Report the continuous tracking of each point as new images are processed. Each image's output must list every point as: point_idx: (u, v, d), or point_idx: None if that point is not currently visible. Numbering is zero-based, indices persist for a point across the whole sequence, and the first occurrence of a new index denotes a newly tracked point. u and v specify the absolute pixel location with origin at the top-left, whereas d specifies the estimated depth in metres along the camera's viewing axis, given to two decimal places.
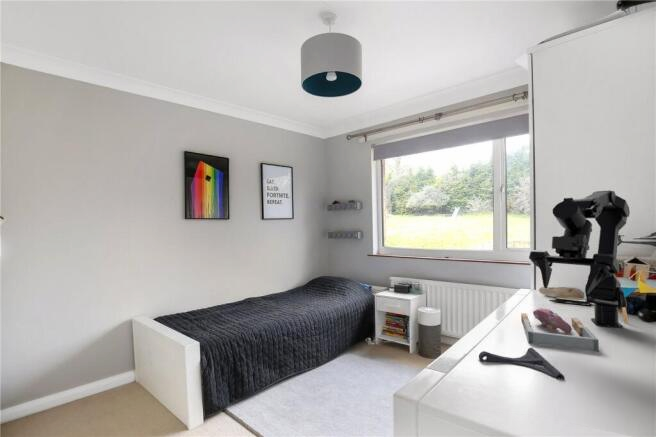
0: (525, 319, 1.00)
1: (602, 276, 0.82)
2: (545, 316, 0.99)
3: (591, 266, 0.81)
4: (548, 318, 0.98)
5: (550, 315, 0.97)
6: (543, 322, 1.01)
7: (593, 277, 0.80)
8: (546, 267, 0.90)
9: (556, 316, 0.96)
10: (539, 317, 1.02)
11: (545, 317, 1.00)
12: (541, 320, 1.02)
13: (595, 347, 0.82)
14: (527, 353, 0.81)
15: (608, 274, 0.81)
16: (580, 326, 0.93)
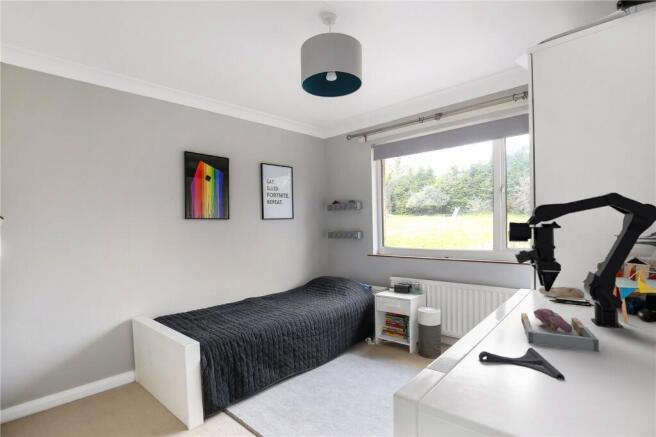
0: (525, 319, 1.00)
1: (555, 274, 1.02)
2: (546, 316, 0.99)
3: None
4: (549, 318, 0.98)
5: (551, 315, 0.97)
6: (544, 322, 1.01)
7: (543, 279, 1.04)
8: None
9: (557, 316, 0.96)
10: (540, 317, 1.02)
11: (546, 317, 1.00)
12: (542, 320, 1.02)
13: (595, 347, 0.82)
14: (527, 353, 0.81)
15: (555, 273, 1.01)
16: (580, 326, 0.93)
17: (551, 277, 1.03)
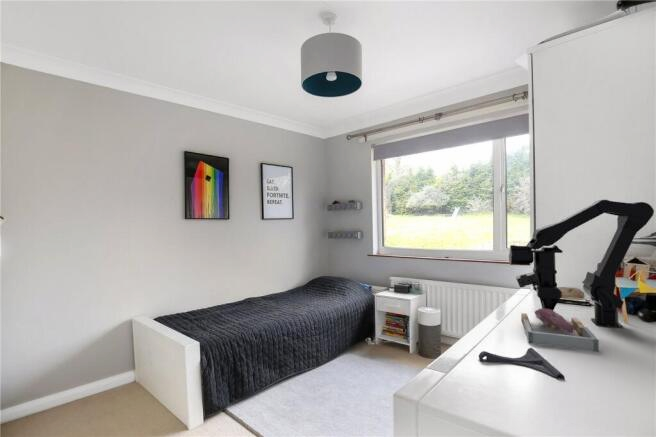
0: (525, 319, 1.00)
1: (555, 300, 1.02)
2: (547, 316, 0.99)
3: None
4: (550, 318, 0.97)
5: (552, 315, 0.96)
6: (545, 322, 1.01)
7: (543, 304, 1.04)
8: None
9: (558, 316, 0.96)
10: (541, 317, 1.02)
11: (547, 317, 0.99)
12: (543, 320, 1.02)
13: (595, 347, 0.82)
14: (527, 353, 0.81)
15: None
16: (580, 326, 0.93)
17: (552, 302, 1.03)
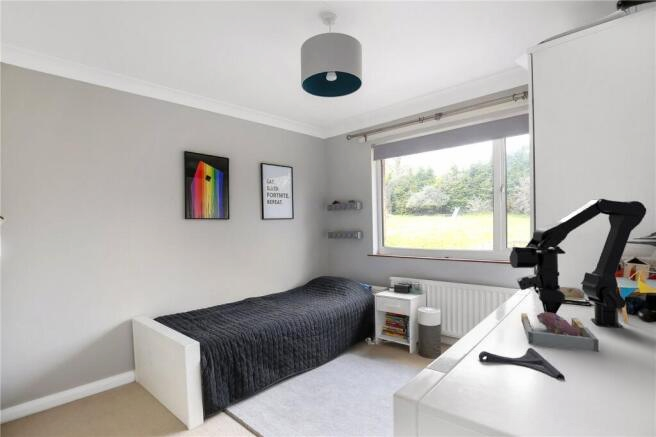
0: (525, 319, 1.00)
1: (558, 303, 0.98)
2: (550, 320, 0.95)
3: (540, 299, 1.01)
4: (554, 322, 0.93)
5: (556, 319, 0.92)
6: (548, 326, 0.97)
7: (545, 308, 1.00)
8: None
9: (562, 320, 0.92)
10: (544, 321, 0.97)
11: (550, 321, 0.95)
12: (546, 324, 0.97)
13: (595, 347, 0.82)
14: (527, 353, 0.81)
15: None
16: (580, 326, 0.93)
17: (554, 306, 0.99)
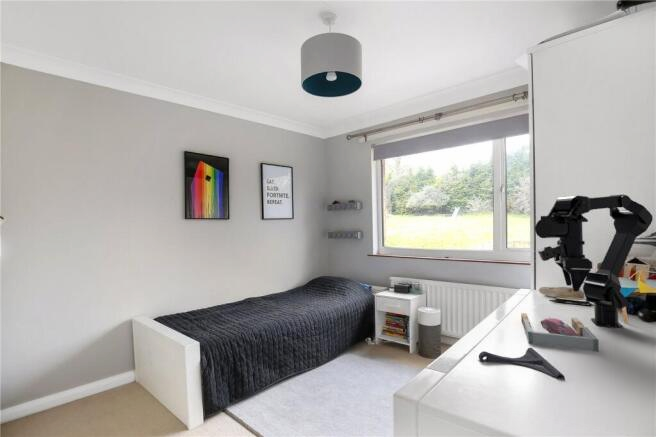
0: (525, 319, 1.00)
1: (584, 272, 0.93)
2: (554, 327, 0.90)
3: None
4: (558, 329, 0.88)
5: (560, 326, 0.87)
6: (552, 333, 0.92)
7: (571, 278, 0.95)
8: (564, 267, 1.04)
9: (567, 327, 0.86)
10: (547, 328, 0.92)
11: (554, 328, 0.90)
12: (550, 331, 0.92)
13: (595, 347, 0.82)
14: (527, 353, 0.81)
15: (585, 271, 0.92)
16: (580, 326, 0.93)
17: (580, 276, 0.94)
